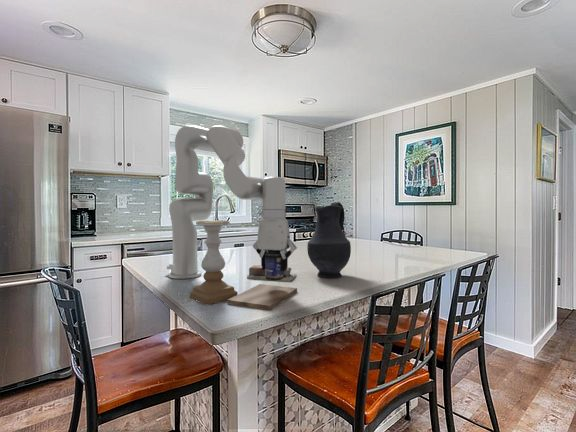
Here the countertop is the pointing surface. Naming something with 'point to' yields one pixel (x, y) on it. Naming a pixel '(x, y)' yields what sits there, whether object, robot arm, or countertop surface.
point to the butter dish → (258, 273)
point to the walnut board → (262, 296)
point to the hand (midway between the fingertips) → (274, 269)
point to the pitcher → (329, 242)
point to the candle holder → (213, 268)
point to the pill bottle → (273, 265)
